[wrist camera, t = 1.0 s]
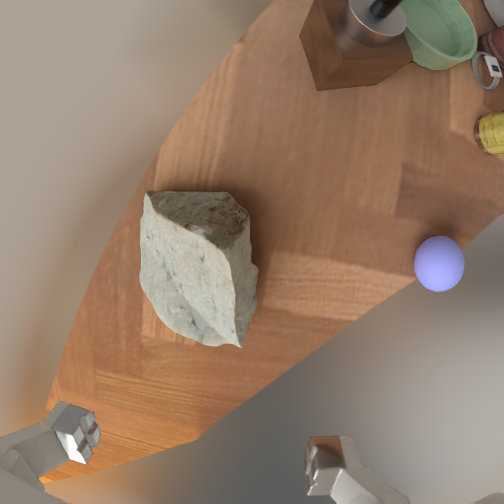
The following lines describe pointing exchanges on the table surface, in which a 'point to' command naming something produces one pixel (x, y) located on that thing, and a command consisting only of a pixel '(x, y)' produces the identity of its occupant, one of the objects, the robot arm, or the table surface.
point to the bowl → (439, 33)
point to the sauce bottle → (491, 133)
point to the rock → (199, 264)
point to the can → (493, 45)
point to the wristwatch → (492, 67)
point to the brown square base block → (346, 51)
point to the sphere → (439, 263)
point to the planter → (496, 11)
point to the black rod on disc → (373, 21)
